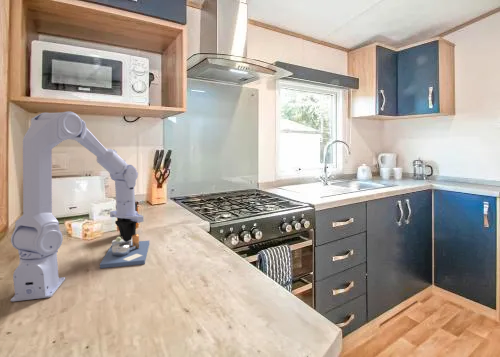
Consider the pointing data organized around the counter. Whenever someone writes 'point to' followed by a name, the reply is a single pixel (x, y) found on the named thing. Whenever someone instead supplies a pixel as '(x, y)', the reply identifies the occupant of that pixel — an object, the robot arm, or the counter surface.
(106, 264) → the plate
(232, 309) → the counter surface
